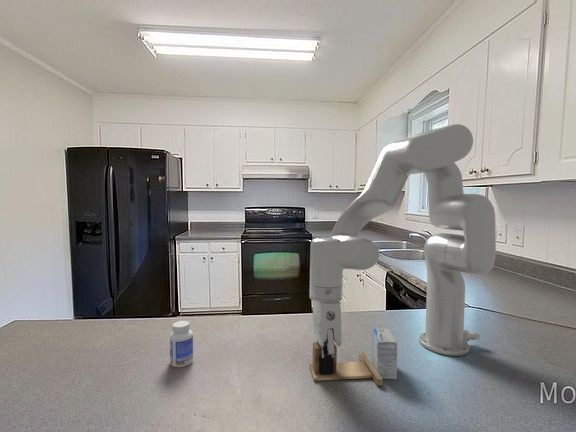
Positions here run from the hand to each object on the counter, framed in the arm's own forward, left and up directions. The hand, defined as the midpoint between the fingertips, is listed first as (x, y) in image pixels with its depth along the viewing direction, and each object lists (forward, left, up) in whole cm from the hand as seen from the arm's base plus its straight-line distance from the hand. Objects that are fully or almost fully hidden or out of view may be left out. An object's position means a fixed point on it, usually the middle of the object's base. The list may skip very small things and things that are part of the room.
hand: (324, 368), depth 71 cm
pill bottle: (+34, -8, -1) cm, 35 cm away
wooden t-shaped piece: (-4, 0, -1) cm, 4 cm away
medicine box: (-15, 0, -1) cm, 15 cm away
